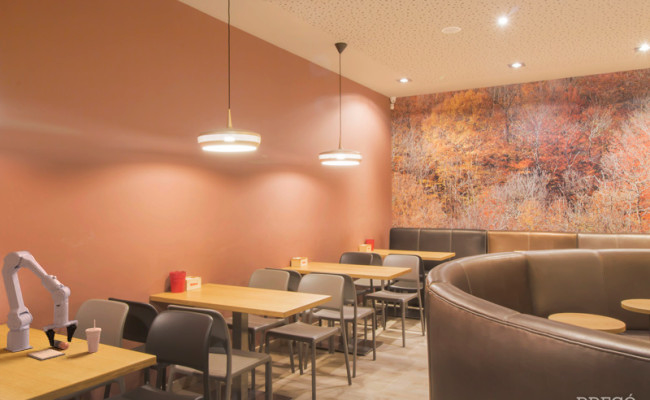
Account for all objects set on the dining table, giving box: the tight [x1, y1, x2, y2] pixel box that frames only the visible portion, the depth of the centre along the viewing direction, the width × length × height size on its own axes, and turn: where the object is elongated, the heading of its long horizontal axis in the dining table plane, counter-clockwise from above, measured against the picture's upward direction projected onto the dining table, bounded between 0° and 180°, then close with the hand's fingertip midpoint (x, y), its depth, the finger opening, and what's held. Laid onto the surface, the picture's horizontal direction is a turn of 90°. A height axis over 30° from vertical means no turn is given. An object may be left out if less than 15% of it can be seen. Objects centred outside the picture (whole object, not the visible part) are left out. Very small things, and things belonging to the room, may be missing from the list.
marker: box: [53, 339, 70, 350], centre depth 206 cm, size 10×3×3 cm, turn 57°
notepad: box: [26, 348, 66, 361], centre depth 195 cm, size 13×10×1 cm
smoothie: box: [84, 319, 102, 354], centre depth 200 cm, size 6×6×14 cm
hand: (60, 343), depth 206 cm, fingers open, 7 cm apart
